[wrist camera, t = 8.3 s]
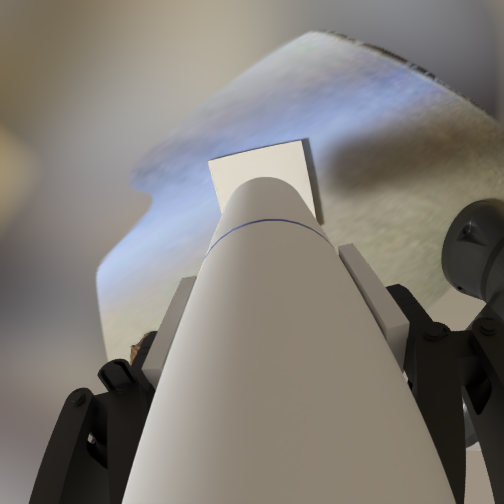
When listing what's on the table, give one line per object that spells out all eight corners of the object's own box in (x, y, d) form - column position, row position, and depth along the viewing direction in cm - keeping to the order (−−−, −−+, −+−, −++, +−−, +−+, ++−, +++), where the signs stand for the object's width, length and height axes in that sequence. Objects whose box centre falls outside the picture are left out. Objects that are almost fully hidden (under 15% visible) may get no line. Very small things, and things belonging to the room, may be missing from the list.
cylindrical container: (259, 159, 24) (277, 581, 1) (322, 211, 26) (496, 514, 3) (208, 223, 26) (77, 546, 3) (271, 269, 28) (291, 582, 5)
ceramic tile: (299, 140, 33) (301, 140, 32) (316, 226, 37) (317, 229, 36) (209, 160, 34) (207, 161, 33) (231, 244, 38) (231, 247, 37)
